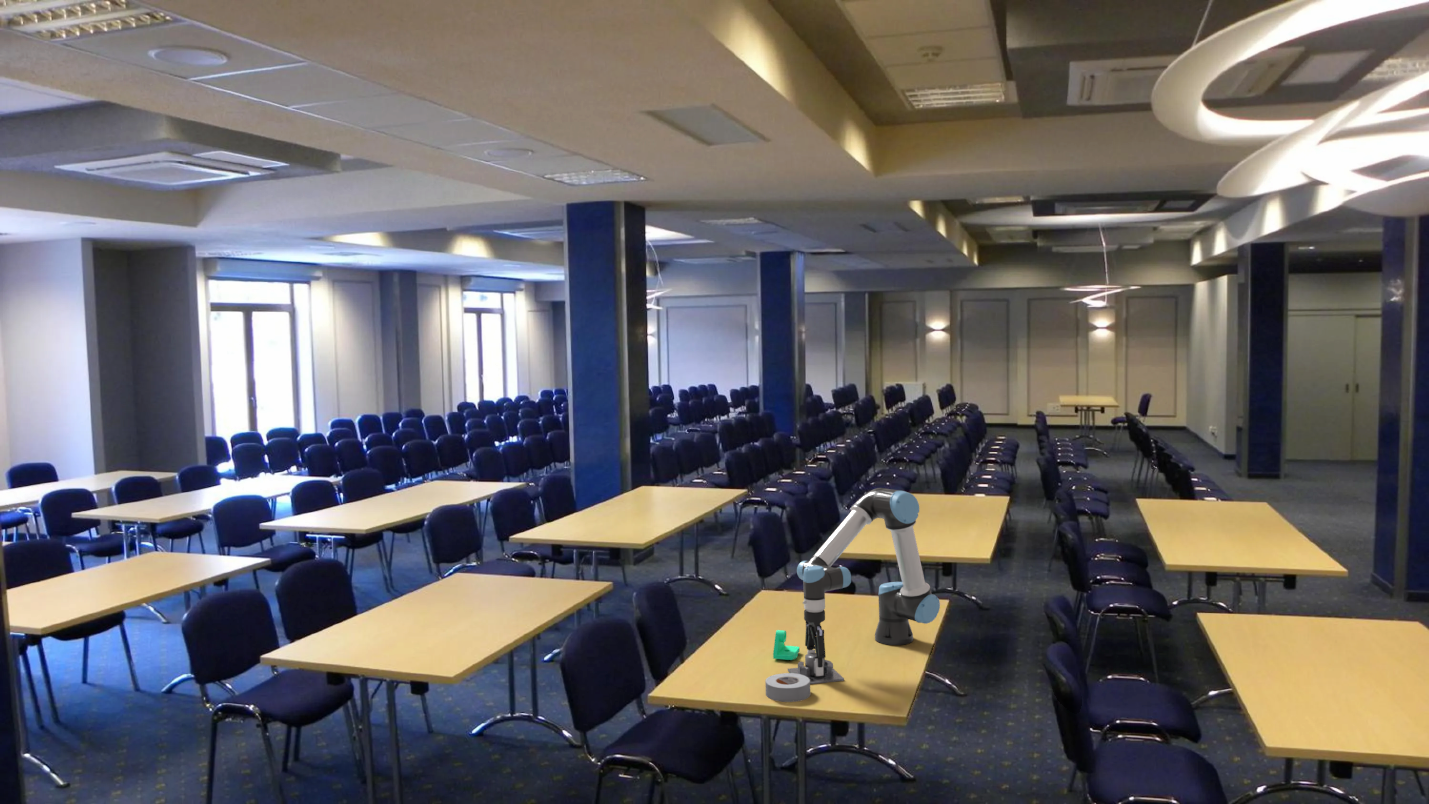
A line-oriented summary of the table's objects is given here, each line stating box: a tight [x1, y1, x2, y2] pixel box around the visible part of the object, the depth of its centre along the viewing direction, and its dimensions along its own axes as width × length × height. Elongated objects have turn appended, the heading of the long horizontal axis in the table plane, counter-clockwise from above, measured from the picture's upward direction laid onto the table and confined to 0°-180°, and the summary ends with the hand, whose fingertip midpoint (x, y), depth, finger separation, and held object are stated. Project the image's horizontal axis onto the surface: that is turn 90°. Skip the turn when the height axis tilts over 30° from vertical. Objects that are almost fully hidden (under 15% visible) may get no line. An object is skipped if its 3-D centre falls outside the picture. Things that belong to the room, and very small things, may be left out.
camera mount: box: [772, 629, 800, 661], centre depth 384 cm, size 12×8×10 cm, turn 162°
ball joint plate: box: [787, 659, 845, 685], centre depth 361 cm, size 16×16×4 cm
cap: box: [804, 652, 826, 676], centre depth 361 cm, size 7×8×6 cm
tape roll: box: [764, 672, 811, 703], centre depth 344 cm, size 15×15×5 cm
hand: (815, 671), depth 362 cm, fingers closed on cap, 8 cm apart
